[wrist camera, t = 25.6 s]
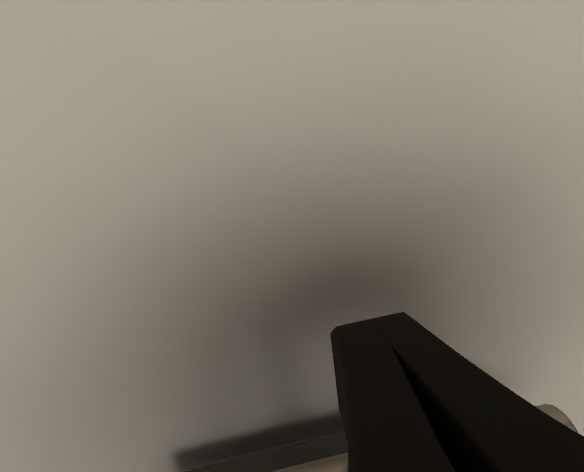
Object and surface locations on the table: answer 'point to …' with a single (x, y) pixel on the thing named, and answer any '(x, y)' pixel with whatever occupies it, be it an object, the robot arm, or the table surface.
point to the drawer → (318, 454)
